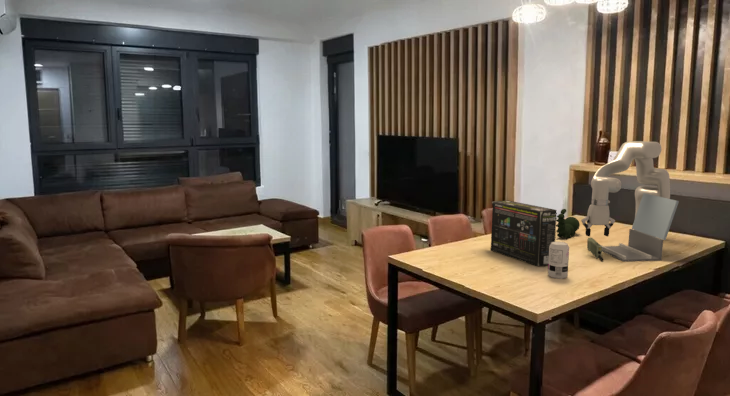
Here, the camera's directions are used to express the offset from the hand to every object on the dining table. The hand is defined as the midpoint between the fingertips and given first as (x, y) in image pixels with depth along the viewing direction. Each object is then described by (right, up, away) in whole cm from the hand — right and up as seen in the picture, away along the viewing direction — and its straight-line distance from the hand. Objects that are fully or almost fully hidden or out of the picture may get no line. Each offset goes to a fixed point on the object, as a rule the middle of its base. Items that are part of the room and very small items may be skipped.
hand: (597, 235), depth 260 cm
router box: (-39, -11, -1) cm, 41 cm away
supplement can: (-33, -16, -33) cm, 49 cm away
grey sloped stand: (+17, -10, +3) cm, 20 cm away
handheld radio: (0, -10, +2) cm, 11 cm away
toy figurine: (+2, -4, +44) cm, 44 cm away
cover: (+29, +10, +1) cm, 31 cm away
